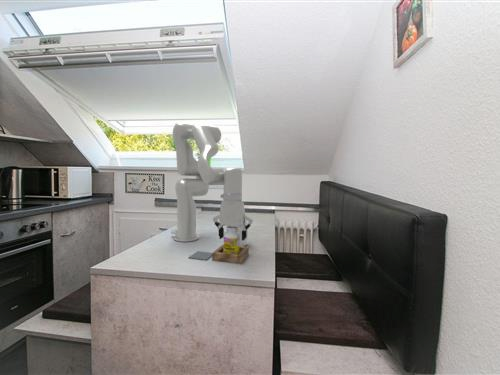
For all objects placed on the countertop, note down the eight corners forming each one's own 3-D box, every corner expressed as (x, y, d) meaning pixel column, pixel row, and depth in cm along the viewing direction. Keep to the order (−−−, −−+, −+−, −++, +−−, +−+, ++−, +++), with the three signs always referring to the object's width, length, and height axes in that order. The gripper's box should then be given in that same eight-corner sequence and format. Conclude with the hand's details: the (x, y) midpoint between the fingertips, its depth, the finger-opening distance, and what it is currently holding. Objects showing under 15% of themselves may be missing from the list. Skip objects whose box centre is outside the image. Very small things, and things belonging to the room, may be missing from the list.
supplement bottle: (220, 258, 96) (221, 227, 96) (227, 253, 103) (227, 224, 102) (235, 260, 94) (236, 229, 93) (241, 255, 100) (242, 226, 100)
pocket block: (212, 260, 94) (212, 253, 94) (222, 250, 106) (223, 244, 105) (240, 263, 91) (240, 256, 91) (248, 253, 103) (248, 247, 102)
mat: (188, 258, 95) (188, 257, 95) (197, 252, 103) (197, 251, 103) (206, 260, 94) (206, 259, 93) (214, 254, 101) (214, 253, 101)
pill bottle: (240, 247, 111) (241, 216, 110) (227, 244, 115) (228, 214, 115) (250, 244, 117) (251, 214, 116) (238, 240, 122) (238, 212, 121)
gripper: (209, 198, 95) (209, 239, 96) (250, 199, 91) (250, 242, 92) (216, 196, 102) (216, 235, 103) (255, 197, 98) (254, 238, 99)
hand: (232, 238), depth 97 cm, fingers open, 9 cm apart
